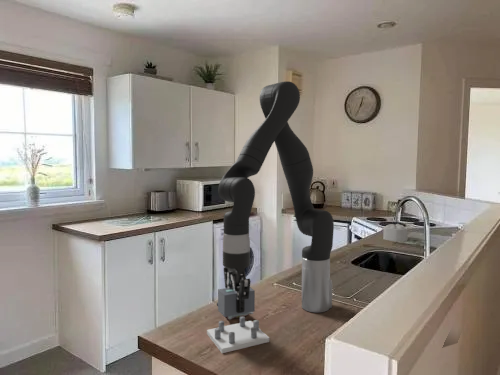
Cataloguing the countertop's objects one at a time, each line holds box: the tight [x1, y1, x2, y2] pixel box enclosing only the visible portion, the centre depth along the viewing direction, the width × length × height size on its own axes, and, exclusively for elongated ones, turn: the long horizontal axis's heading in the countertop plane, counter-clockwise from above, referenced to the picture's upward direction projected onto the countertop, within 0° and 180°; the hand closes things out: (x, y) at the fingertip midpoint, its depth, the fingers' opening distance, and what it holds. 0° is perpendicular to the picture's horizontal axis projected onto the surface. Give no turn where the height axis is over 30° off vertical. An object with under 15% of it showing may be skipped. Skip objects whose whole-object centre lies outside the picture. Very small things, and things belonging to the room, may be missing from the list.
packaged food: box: [216, 301, 254, 320], centre depth 125 cm, size 9×12×5 cm
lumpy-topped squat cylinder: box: [382, 223, 409, 242], centre depth 228 cm, size 10×13×9 cm
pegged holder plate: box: [206, 316, 270, 354], centre depth 109 cm, size 14×12×4 cm
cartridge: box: [217, 286, 256, 318], centre depth 108 cm, size 9×5×6 cm, turn 115°
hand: (236, 308), depth 108 cm, fingers closed on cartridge, 5 cm apart
